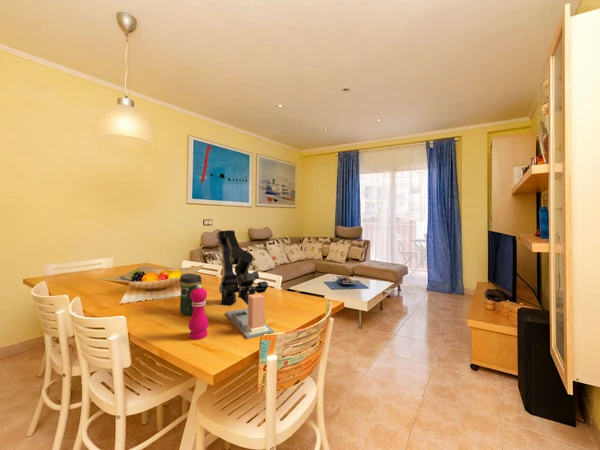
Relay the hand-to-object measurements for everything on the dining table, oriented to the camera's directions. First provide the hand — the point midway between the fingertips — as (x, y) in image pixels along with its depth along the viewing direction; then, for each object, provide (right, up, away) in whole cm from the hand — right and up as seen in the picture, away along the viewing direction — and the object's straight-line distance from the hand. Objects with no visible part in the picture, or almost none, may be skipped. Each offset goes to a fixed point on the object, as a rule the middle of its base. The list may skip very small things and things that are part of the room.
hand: (251, 306), depth 114 cm
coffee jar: (-31, -7, +15) cm, 36 cm away
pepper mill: (-18, -8, -10) cm, 23 cm away
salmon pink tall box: (+3, -7, -5) cm, 9 cm away
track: (-2, -8, +4) cm, 9 cm away
